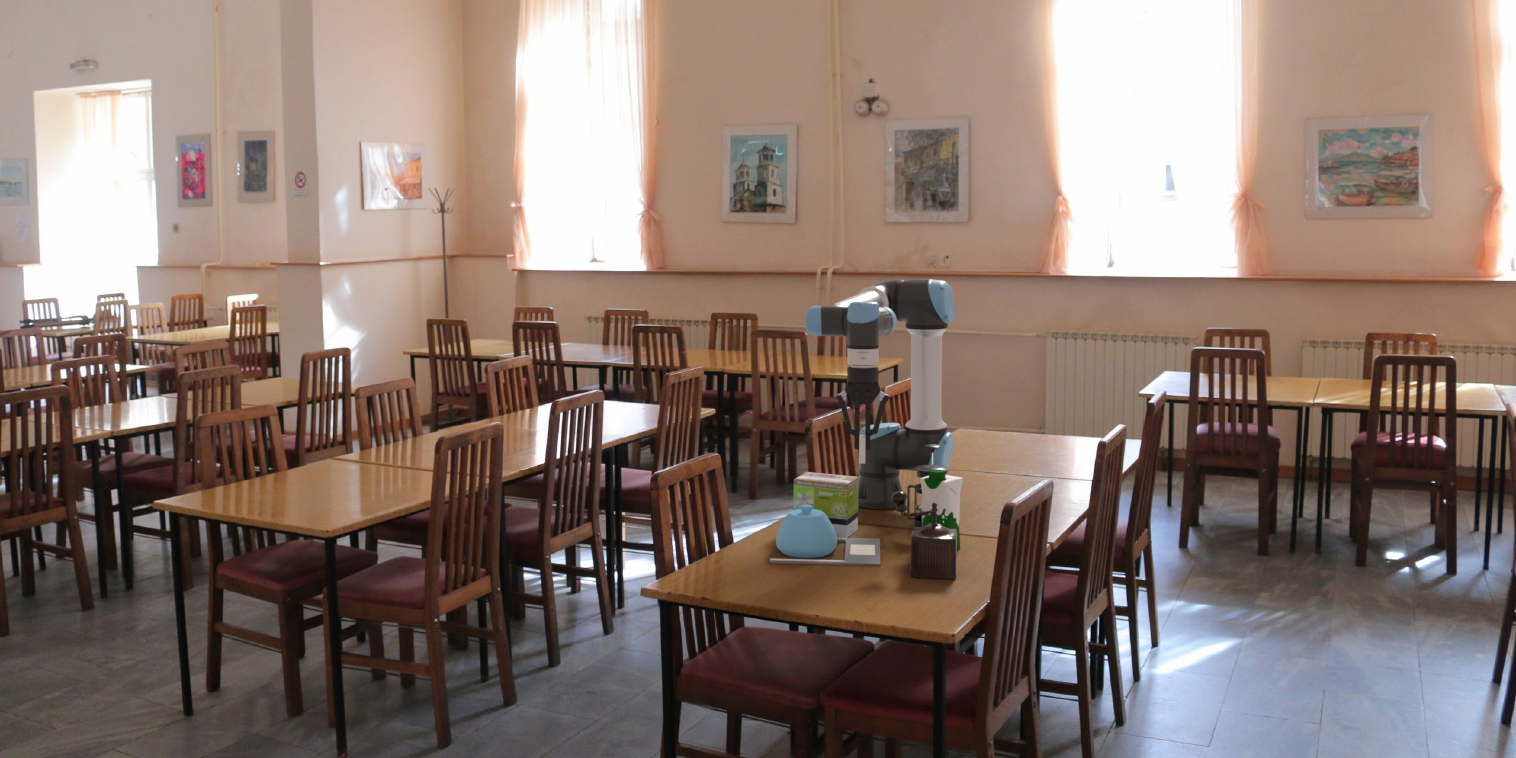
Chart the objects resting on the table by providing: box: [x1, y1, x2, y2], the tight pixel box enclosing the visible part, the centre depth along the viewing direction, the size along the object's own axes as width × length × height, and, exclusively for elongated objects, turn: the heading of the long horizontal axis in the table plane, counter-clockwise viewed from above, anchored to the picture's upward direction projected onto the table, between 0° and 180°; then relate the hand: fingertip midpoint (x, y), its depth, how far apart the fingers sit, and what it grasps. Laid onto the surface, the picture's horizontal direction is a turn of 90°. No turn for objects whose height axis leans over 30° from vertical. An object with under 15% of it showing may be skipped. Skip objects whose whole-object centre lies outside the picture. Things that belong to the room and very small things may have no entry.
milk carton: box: [919, 469, 964, 550], centre depth 286 cm, size 9×9×20 cm
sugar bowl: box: [775, 505, 838, 559], centre depth 285 cm, size 15×15×12 cm
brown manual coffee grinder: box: [891, 491, 958, 581], centre depth 267 cm, size 16×11×18 cm
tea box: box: [792, 471, 859, 538], centre depth 303 cm, size 15×10×15 cm
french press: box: [906, 444, 951, 528], centre depth 303 cm, size 12×9×23 cm
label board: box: [769, 537, 881, 567], centre depth 285 cm, size 23×26×1 cm
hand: (862, 462), depth 282 cm, fingers closed
